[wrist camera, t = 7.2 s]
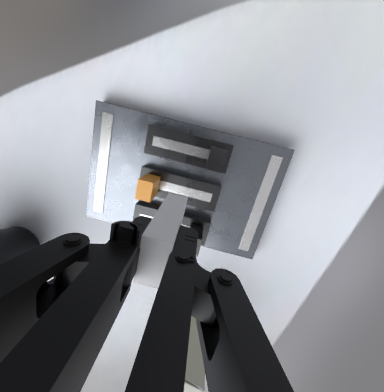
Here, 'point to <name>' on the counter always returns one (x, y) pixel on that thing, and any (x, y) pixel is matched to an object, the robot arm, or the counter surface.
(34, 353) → the robot arm
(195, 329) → the box
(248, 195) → the panel
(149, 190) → the breaker handle
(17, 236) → the mug
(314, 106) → the counter surface
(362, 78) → the counter surface
